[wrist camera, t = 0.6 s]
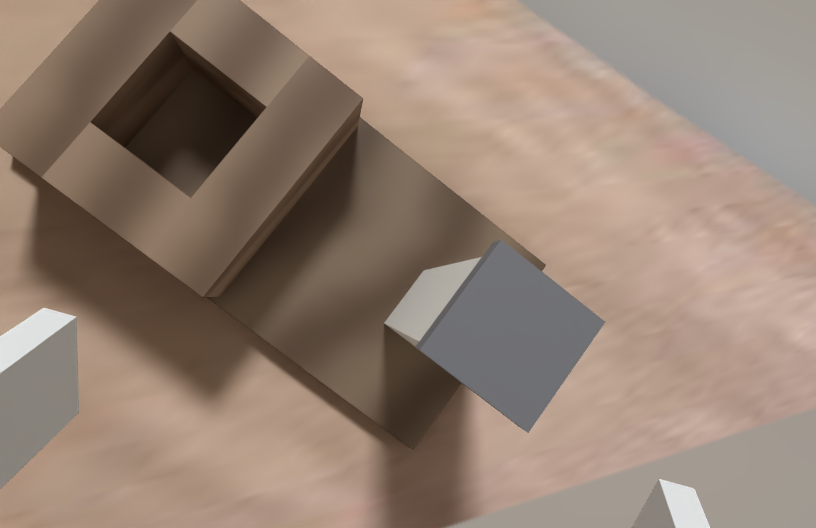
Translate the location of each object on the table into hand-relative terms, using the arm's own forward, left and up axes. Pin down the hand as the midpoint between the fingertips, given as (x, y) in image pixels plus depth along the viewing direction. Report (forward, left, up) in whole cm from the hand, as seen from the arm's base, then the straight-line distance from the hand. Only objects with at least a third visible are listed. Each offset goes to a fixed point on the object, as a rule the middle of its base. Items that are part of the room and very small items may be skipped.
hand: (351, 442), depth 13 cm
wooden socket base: (-8, +2, -23) cm, 24 cm away
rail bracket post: (+1, +6, -22) cm, 22 cm away
